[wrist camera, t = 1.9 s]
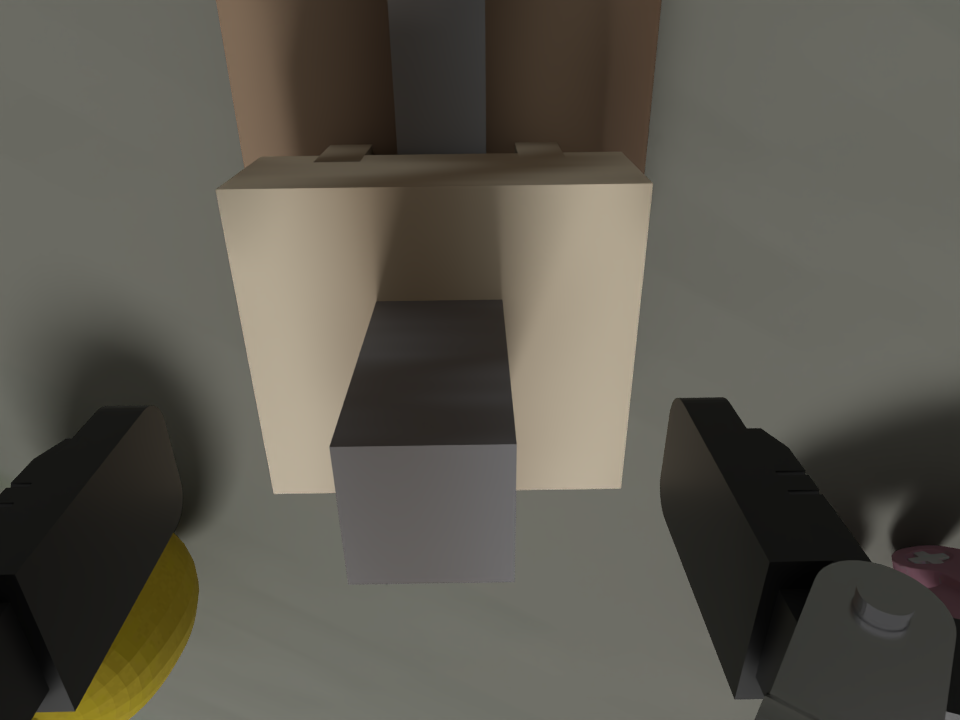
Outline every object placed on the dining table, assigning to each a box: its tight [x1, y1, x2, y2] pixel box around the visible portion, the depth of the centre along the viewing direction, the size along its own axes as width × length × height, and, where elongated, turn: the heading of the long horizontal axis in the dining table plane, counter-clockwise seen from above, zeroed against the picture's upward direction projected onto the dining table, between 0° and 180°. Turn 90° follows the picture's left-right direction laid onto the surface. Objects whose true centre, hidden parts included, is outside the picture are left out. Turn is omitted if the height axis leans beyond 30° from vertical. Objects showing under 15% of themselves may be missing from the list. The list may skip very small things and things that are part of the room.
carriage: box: [216, 142, 653, 584], centre depth 14 cm, size 8×7×9 cm
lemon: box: [32, 533, 199, 720], centre depth 21 cm, size 6×6×8 cm
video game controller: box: [892, 545, 960, 619], centre depth 23 cm, size 10×5×7 cm, turn 103°
